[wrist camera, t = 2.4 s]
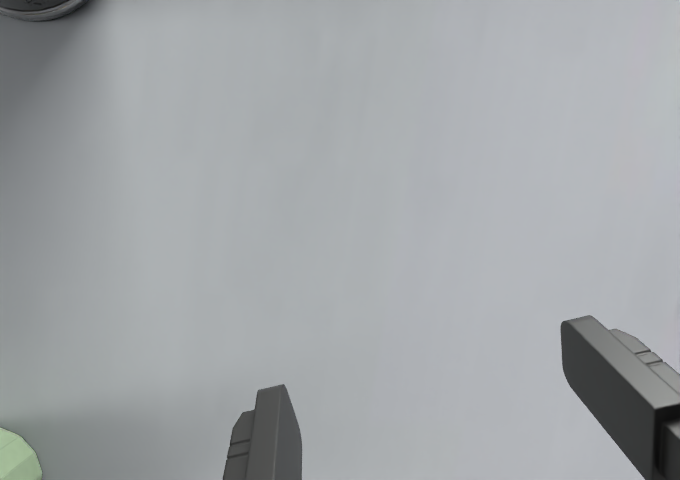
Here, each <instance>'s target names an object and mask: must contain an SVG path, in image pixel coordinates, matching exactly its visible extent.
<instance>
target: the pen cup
mask: <svg viewBox="0 0 680 480" xmlns="http://www.w3.org/2000/svg"><path fill="white" fill-rule="evenodd" d="M0 480H42V470H41V467H40V464H39V461H38V458H37V455H36V452H35V451H34V450H33V449H32V448H31V447H30V446H29V445H28V444H27V443H26V441H25V440H24V439H23V438H22V437H21V436H19V435H17V434H15V433H12V432H10V431H8V430H6V429H3V428H1V427H0Z"/></svg>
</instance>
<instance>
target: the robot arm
mask: <svg viewBox="0 0 680 480" xmlns="http://www.w3.org/2000/svg"><path fill="white" fill-rule="evenodd" d="M87 1H88V0H0V13H1V14H3V15H6V16H9V17H12V18H16V19H21V20H30V21H41V20H49V19H54V18H58V17H61V16H64V15H66V14H69V13H71V12H73V11H74V10H76V9H78V8H79V7H81V6H82V5H83V4H85V3H86V2H87ZM561 345H562V364H563V370H564V374H565V377H566V379H567V381H568V383H569V385H570V387H571V388H572V389H573V391H574V392H575V393H576V394H577V396H578V397H579V398H580V399H581V401H582V402H583V403H584V404H585V405H586V407H587V408H588V409H589V410H590V412H591V413H592V414H593V415H594V417H595V418H596V419H597V420H598V422H599V423H600V424H601V425H602V427H603V428H604V429H605V430H606V431H607V433H608V434H609V435H610V436H611V438H612V439H613V440H614V441H615V443H616V444H617V445H618V446H619V448H620V449H621V450H622V451H623V453H624V454H625V455H626V456H627V457H628V459H629V460H630V461H631V462H632V464H633V465H634V466H635V467H636V469H637V470H638V471H639V472H640V474H641V475H642V476H643V477H644V479H645V480H680V374H679V373H677V372H676V371H675V370H674V369H673V368H672V367H670V366H669V365H668V364H667V363H666V362H665V363H664V362H663V361H662V359H661V358H660V357H658V356H657V355H656V354H655V353H654V352H651V351H650V349H649V348H648V347H647V346H645V345H644V344H643V343H642V342H641V341H639V340H638V339H637V338H636V337H634V336H631V335H629V334H627V333H625V332H622V331H620V330H618V329H612V330H608V329H606V328H605V327H604V326H603V325H602V324H601V323H600V322H599V321H598V320H596V319H595V318H594V317H593V316H590V315H589V316H584V317H580V318H576V319H571V320H567V321H563V322H562V323H561ZM227 458H228V460H226V465H225V470H224V475H223V480H302V441H301V434H300V429H299V425H298V422H297V419H296V416H295V413H294V410H293V407H292V404H291V401H290V398H289V395H288V392H287V389H286V387H285V385H284V384H283V385H278V386H274V387H270V388H265V389H261V390H258V392H257V398H256V405H255V410H252V411H247V412H243V413H242V415H241V416H240V418H239V419H238V421H237V422H236V424H235V426H234V427H233V430H232V435H231V440H230V447H229V450H228V455H227Z"/></svg>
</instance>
